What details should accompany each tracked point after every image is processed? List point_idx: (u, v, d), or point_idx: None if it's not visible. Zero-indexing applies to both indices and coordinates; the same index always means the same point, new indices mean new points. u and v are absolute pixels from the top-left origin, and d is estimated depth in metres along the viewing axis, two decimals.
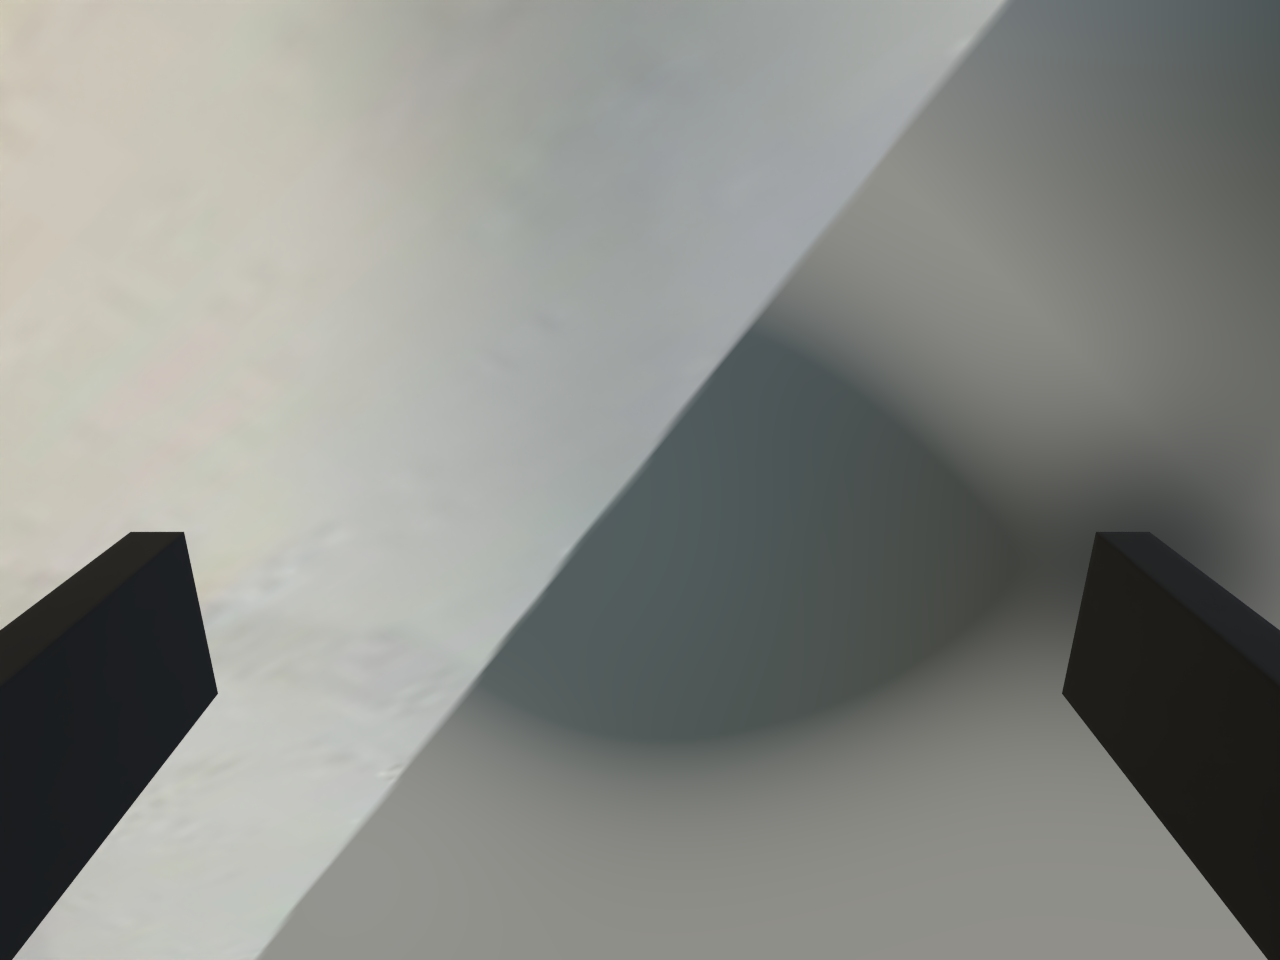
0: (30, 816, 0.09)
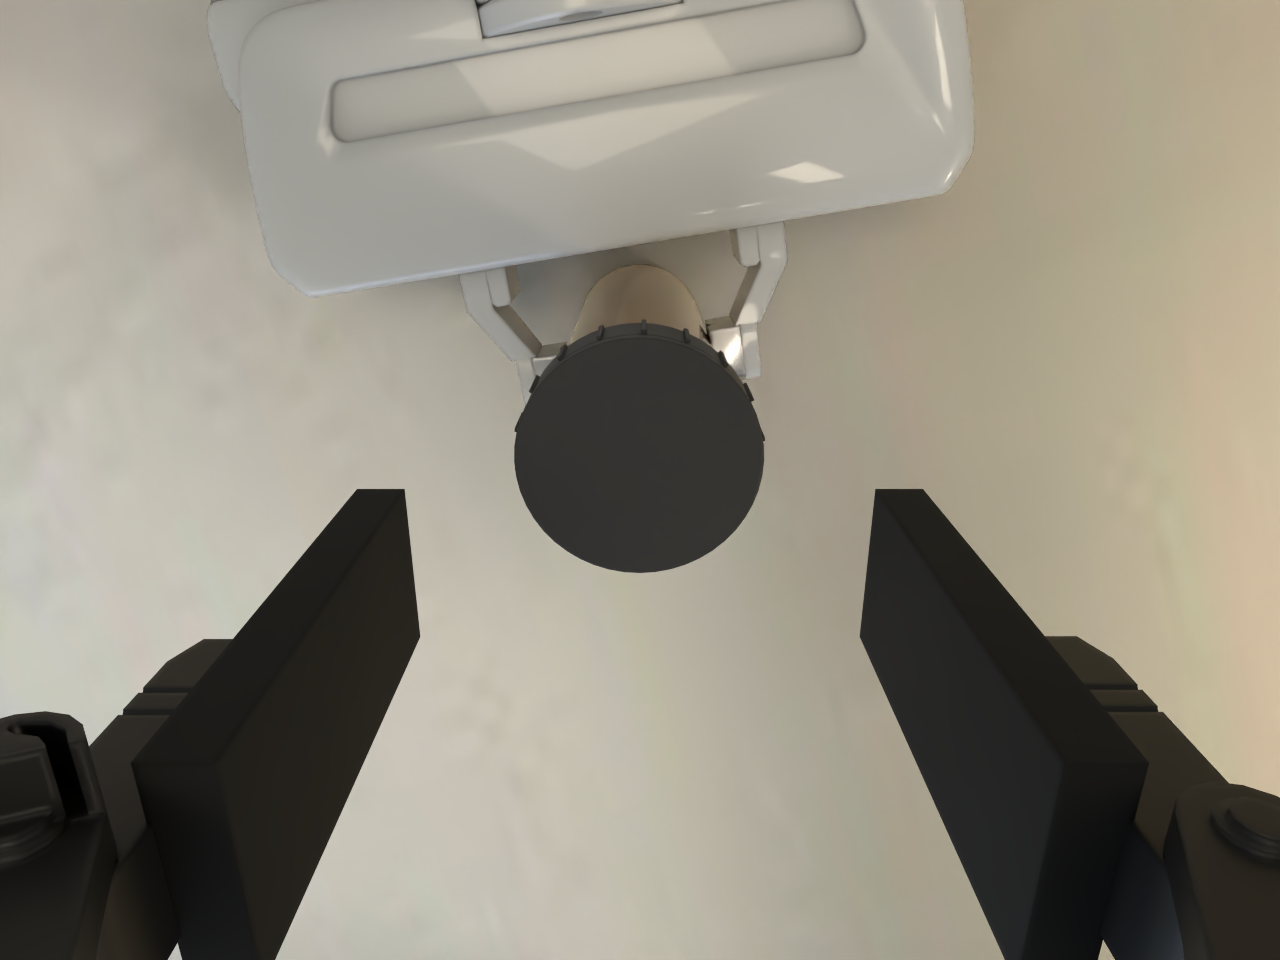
0: (336, 720, 0.11)
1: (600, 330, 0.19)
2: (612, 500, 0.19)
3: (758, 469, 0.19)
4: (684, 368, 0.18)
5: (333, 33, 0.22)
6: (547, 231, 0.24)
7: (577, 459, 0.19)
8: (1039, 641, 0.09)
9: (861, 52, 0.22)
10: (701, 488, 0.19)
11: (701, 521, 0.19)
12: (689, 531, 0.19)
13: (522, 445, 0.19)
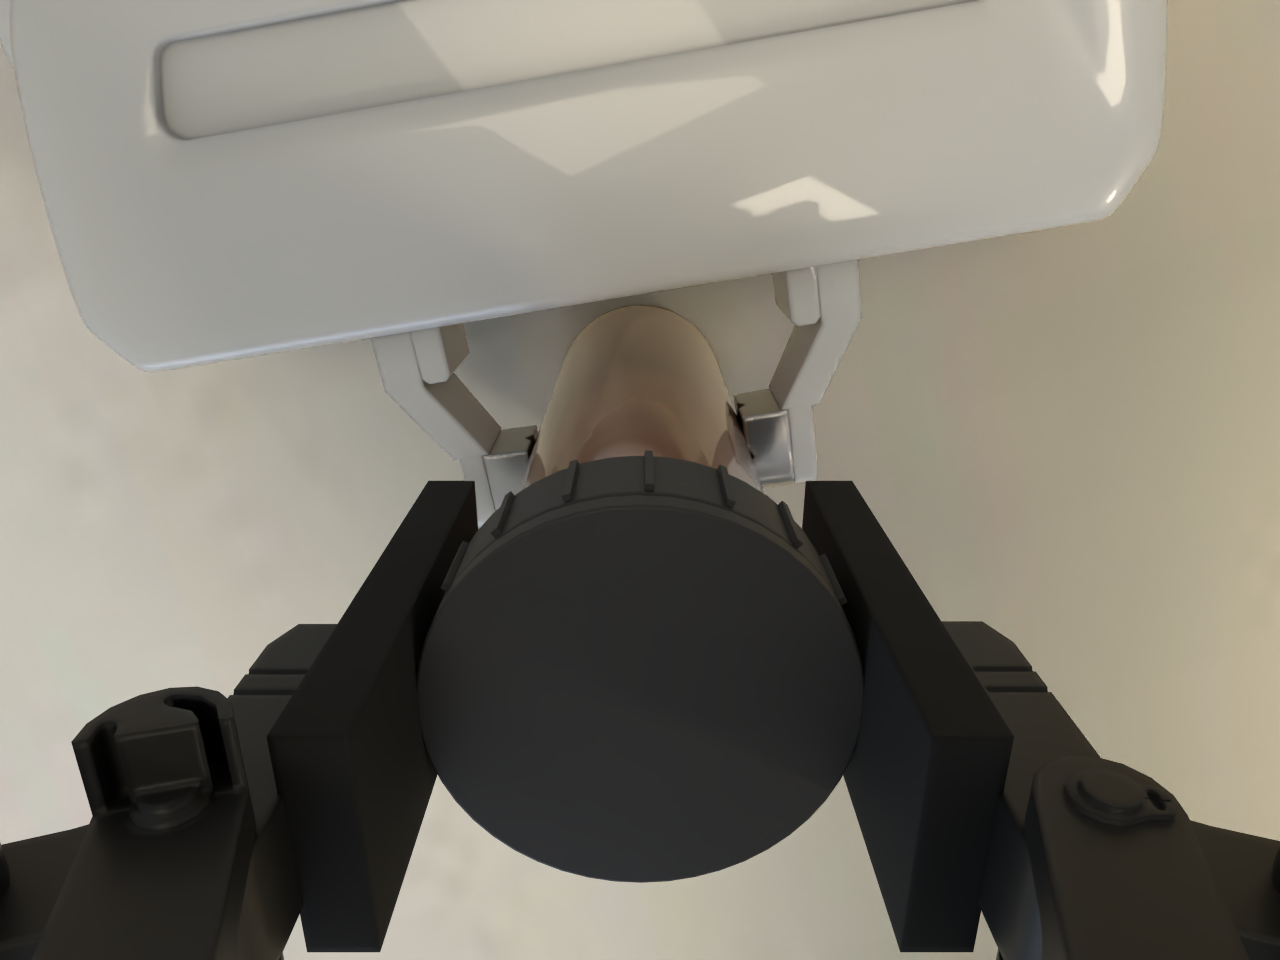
0: None
1: (570, 477, 0.10)
2: (592, 773, 0.11)
3: (854, 725, 0.10)
4: (724, 558, 0.10)
5: None
6: (499, 276, 0.16)
7: (529, 708, 0.10)
8: (933, 624, 0.10)
9: None
10: (751, 754, 0.11)
11: (749, 805, 0.11)
12: (728, 820, 0.11)
13: (429, 686, 0.10)
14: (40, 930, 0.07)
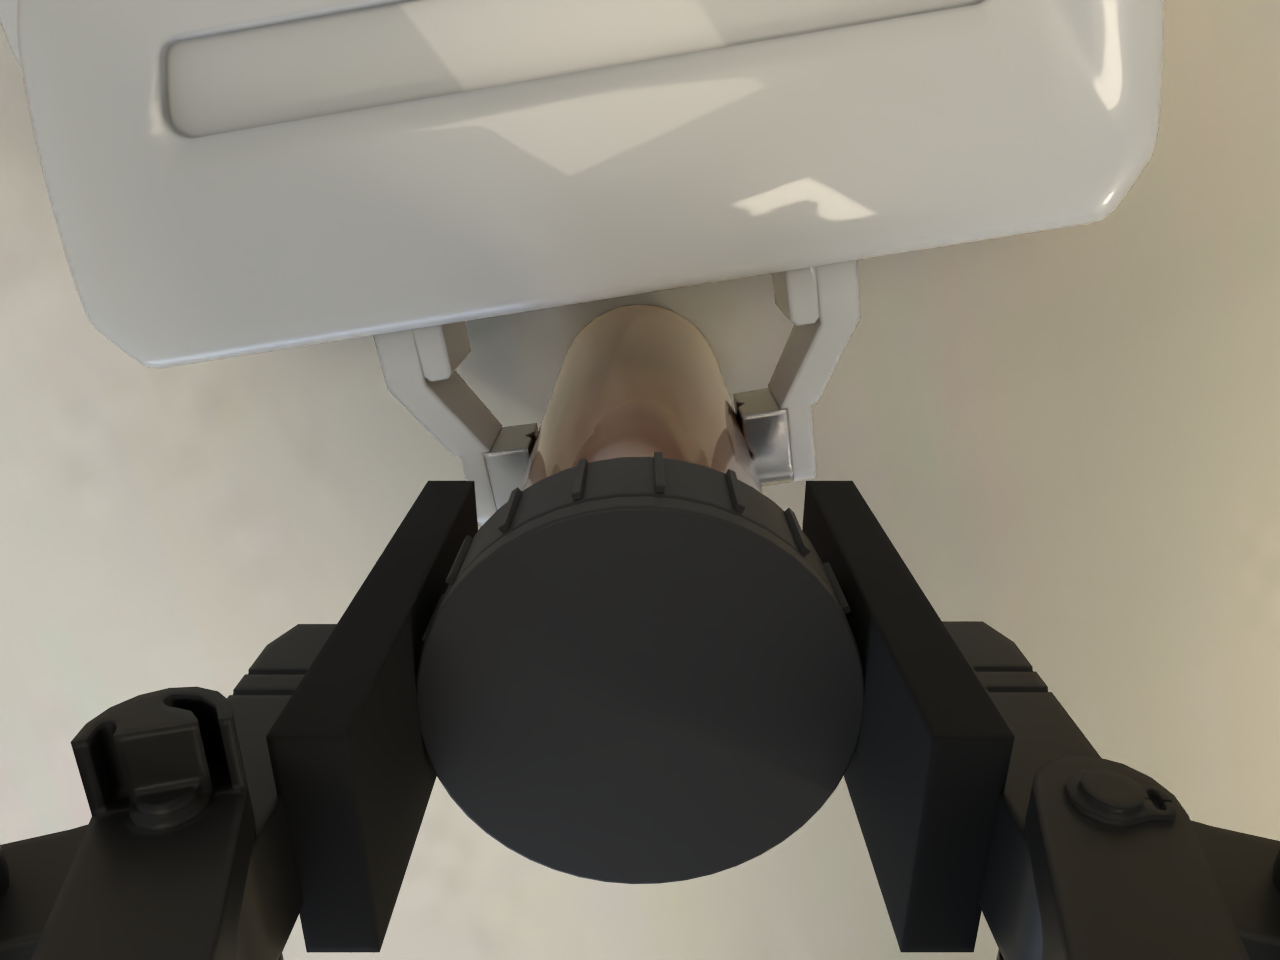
0: None
1: None
2: (728, 721, 0.10)
3: (544, 536, 0.10)
4: (452, 721, 0.10)
5: None
6: (501, 274, 0.16)
7: (685, 794, 0.11)
8: (933, 624, 0.10)
9: (991, 1, 0.14)
10: (633, 604, 0.10)
11: (694, 573, 0.10)
12: (725, 583, 0.10)
13: (703, 867, 0.11)
14: (40, 930, 0.07)
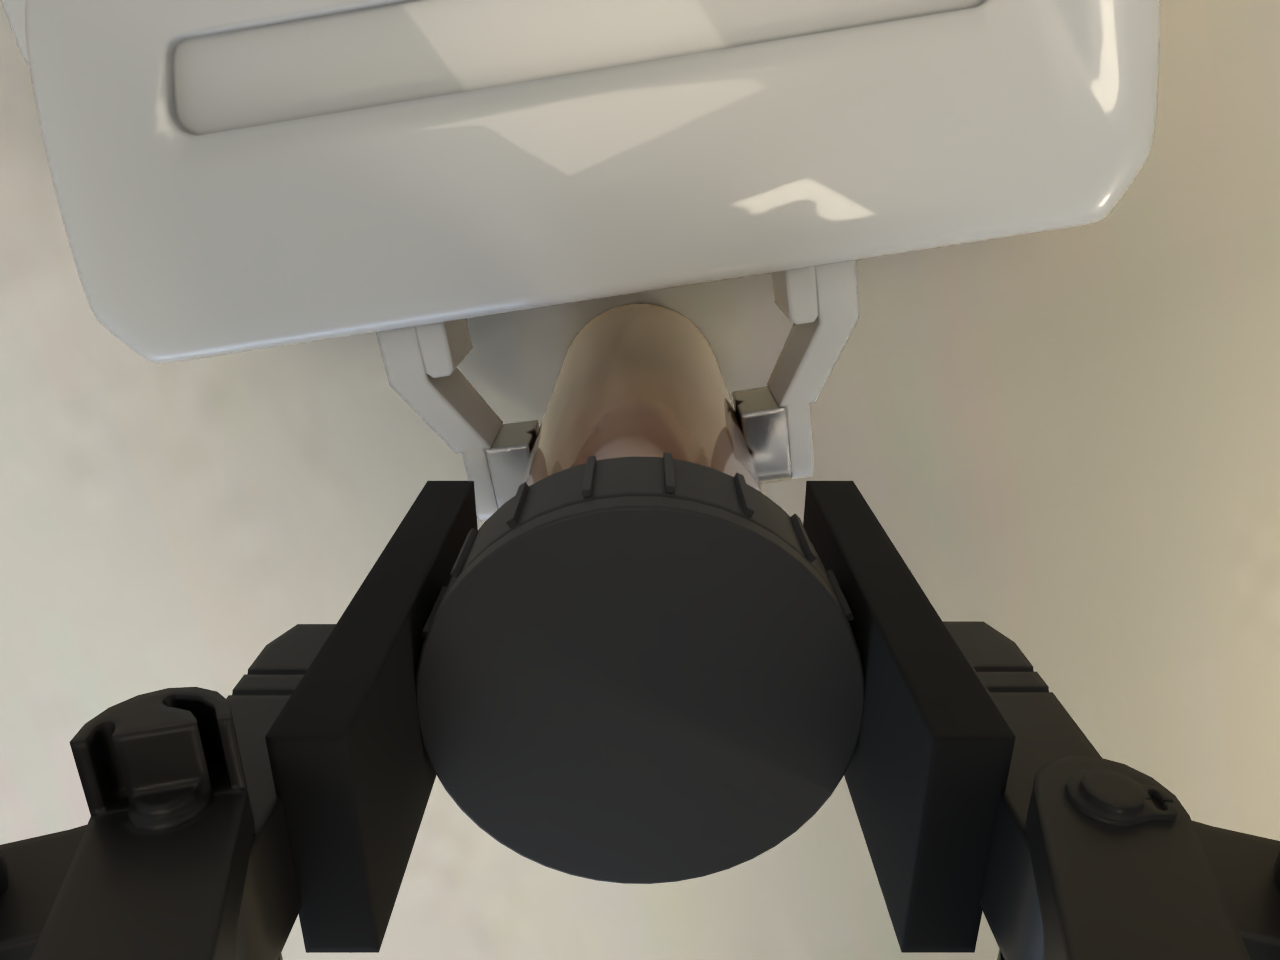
0: None
1: None
2: (605, 642, 0.10)
3: (514, 847, 0.11)
4: (729, 840, 0.11)
5: None
6: (504, 272, 0.16)
7: (710, 637, 0.10)
8: (934, 624, 0.10)
9: (990, 4, 0.14)
10: (535, 765, 0.11)
11: (479, 735, 0.11)
12: (473, 711, 0.10)
13: (795, 577, 0.10)
14: (38, 931, 0.07)
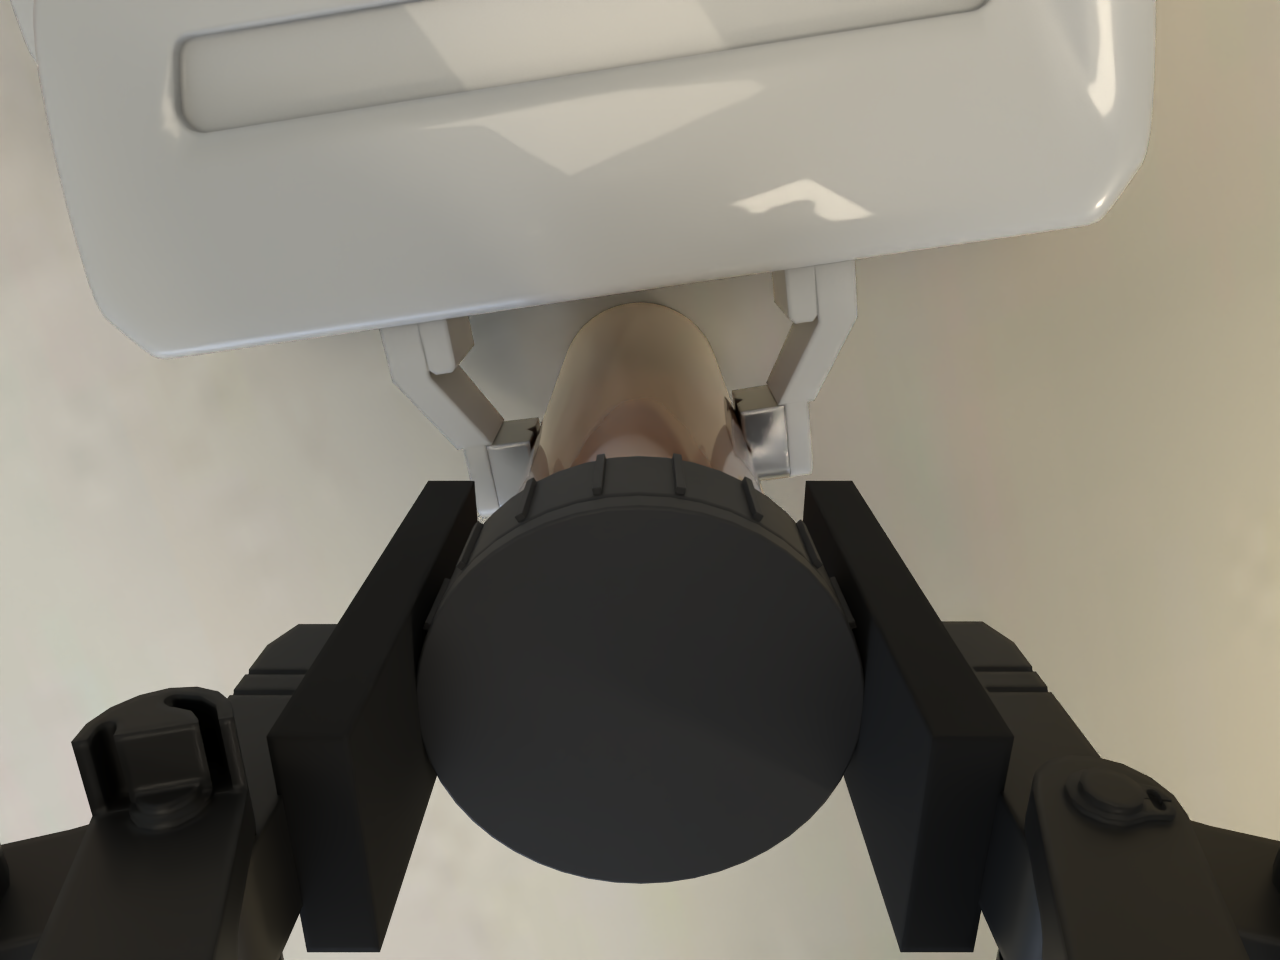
0: None
1: (600, 471, 0.10)
2: (583, 769, 0.11)
3: (848, 749, 0.11)
4: (747, 570, 0.10)
5: None
6: (506, 270, 0.16)
7: (529, 697, 0.10)
8: (933, 624, 0.10)
9: (989, 8, 0.15)
10: (743, 767, 0.11)
11: (733, 817, 0.11)
12: (710, 830, 0.11)
13: (432, 663, 0.10)
14: (40, 930, 0.07)
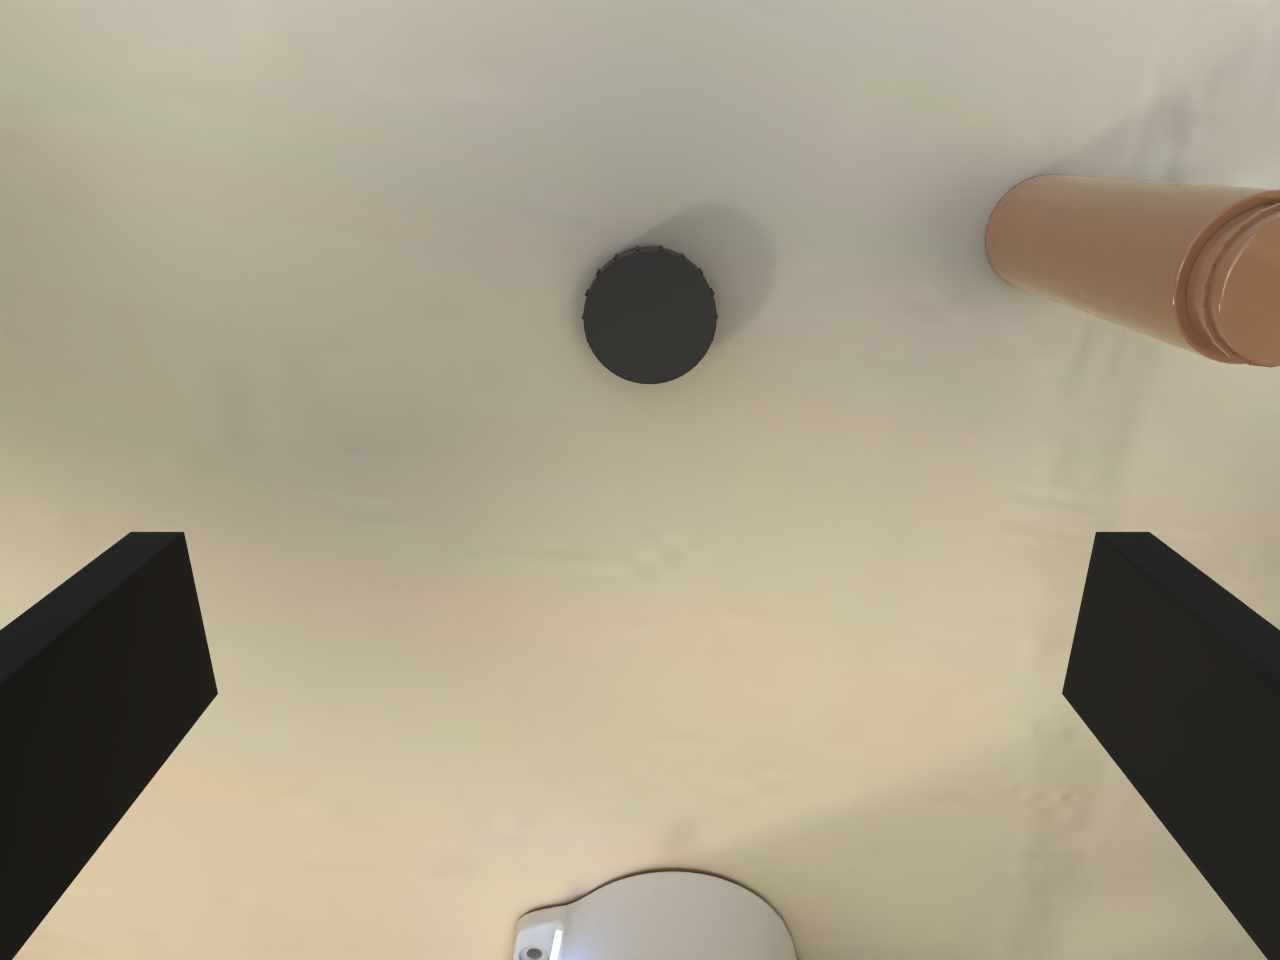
0: (31, 817, 0.09)
1: (638, 247, 0.35)
2: (632, 339, 0.36)
3: (712, 331, 0.35)
4: (680, 271, 0.35)
5: None
6: None
7: (617, 313, 0.35)
8: None
9: None
10: (680, 338, 0.36)
11: (678, 357, 0.36)
12: (671, 362, 0.36)
13: (589, 302, 0.35)
14: None
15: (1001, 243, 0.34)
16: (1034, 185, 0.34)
